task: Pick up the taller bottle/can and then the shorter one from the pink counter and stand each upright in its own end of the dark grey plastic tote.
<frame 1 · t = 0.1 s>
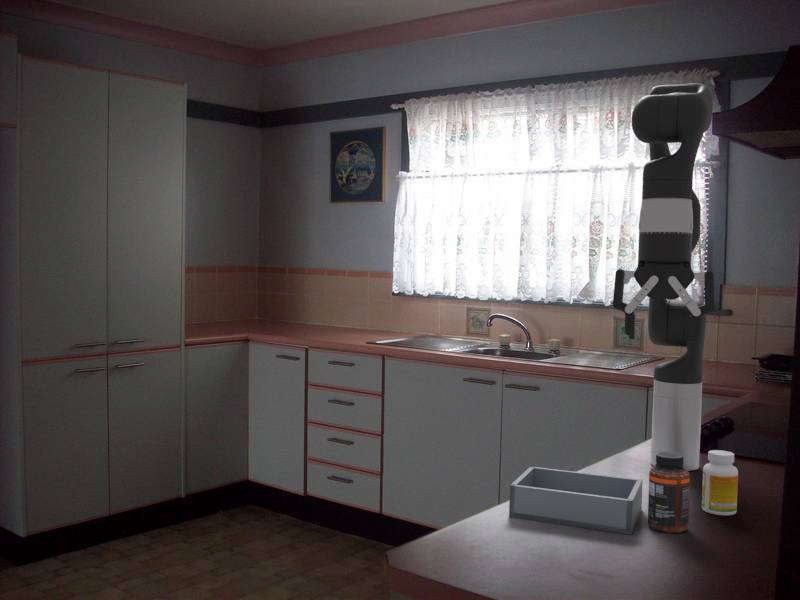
hand: (661, 340, 122), 29 cm above the worktop, fingers open, 8 cm apart
supplement bottle 2: (667, 529, 125), on the worktop
tote: (576, 513, 131), on the worktop
supplement bottle: (718, 512, 134), on the worktop
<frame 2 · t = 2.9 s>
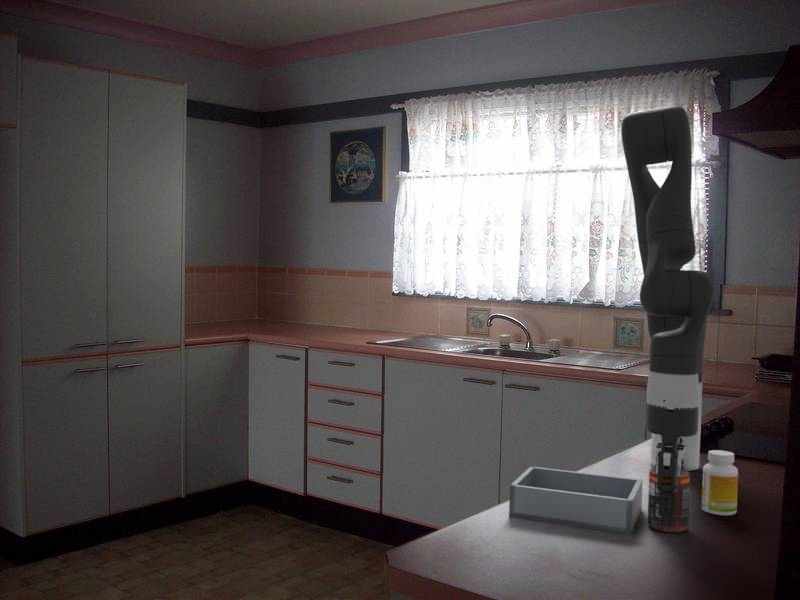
hand: (668, 510, 125), 3 cm above the worktop, fingers closed on supplement bottle 2, 6 cm apart
supplement bottle 2: (667, 529, 125), on the worktop, touching gripper
everything else where it was.
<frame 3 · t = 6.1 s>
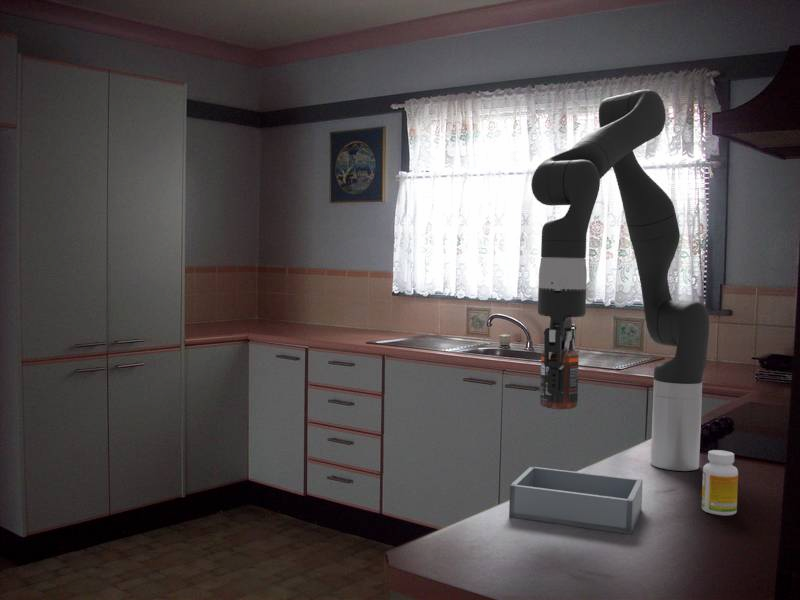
hand: (558, 390, 132), 20 cm above the worktop, fingers closed on supplement bottle 2, 6 cm apart
supplement bottle 2: (558, 408, 132), point 17 cm above the worktop, touching gripper
everything else where it was.
when the fingers open (5 cm above the worktop, at t = 9.5 s): supplement bottle 2 drops 1 cm, resting on tote.
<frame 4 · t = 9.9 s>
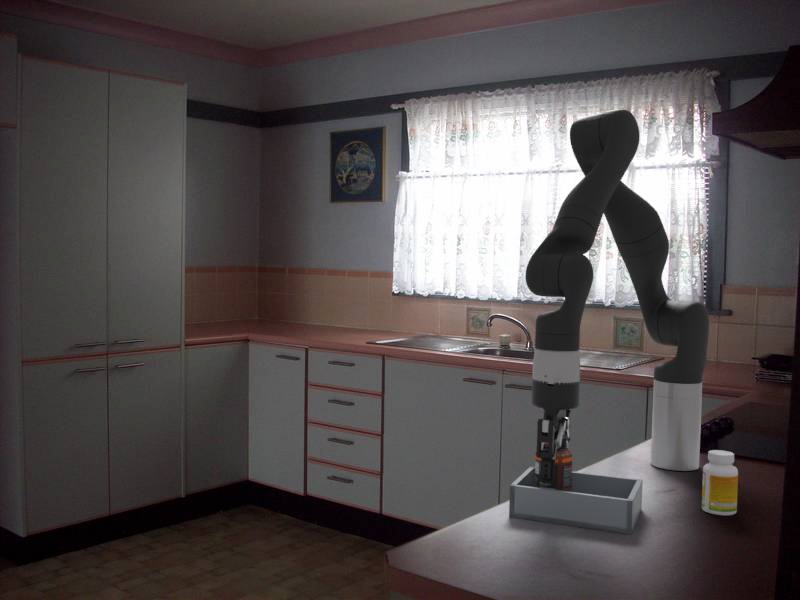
hand: (552, 476, 133), 5 cm above the worktop, fingers open, 8 cm apart
supplement bottle 2: (552, 505, 133), point 1 cm above the worktop, touching tote
everything else where it was.
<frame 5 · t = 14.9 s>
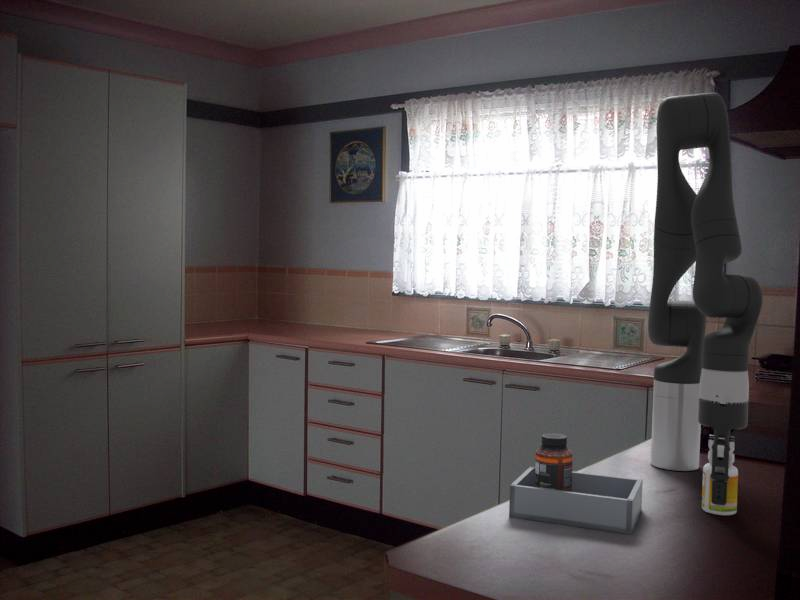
hand: (719, 498, 134), 2 cm above the worktop, fingers closed on supplement bottle, 5 cm apart
supplement bottle: (718, 512, 134), on the worktop, touching gripper
everything else where it was.
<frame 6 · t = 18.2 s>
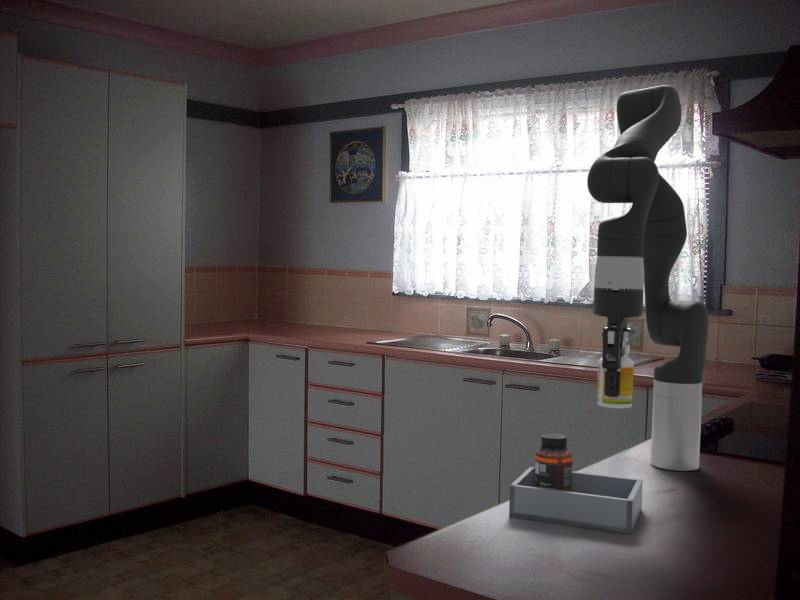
hand: (614, 393, 129), 20 cm above the worktop, fingers closed on supplement bottle, 5 cm apart
supplement bottle: (614, 407, 129), point 18 cm above the worktop, touching gripper
everything else where it was.
when the fingers open (4 cm above the worktop, at t = 21.7 s): supplement bottle drops 1 cm, resting on tote.
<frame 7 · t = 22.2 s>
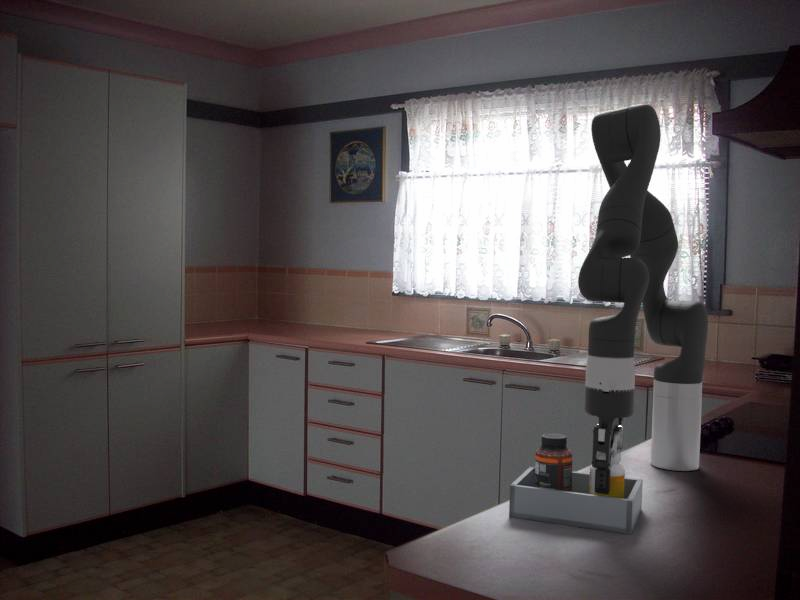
hand: (606, 486, 130), 5 cm above the worktop, fingers open, 8 cm apart
supplement bottle: (605, 513, 130), point 1 cm above the worktop, touching tote
everything else where it was.
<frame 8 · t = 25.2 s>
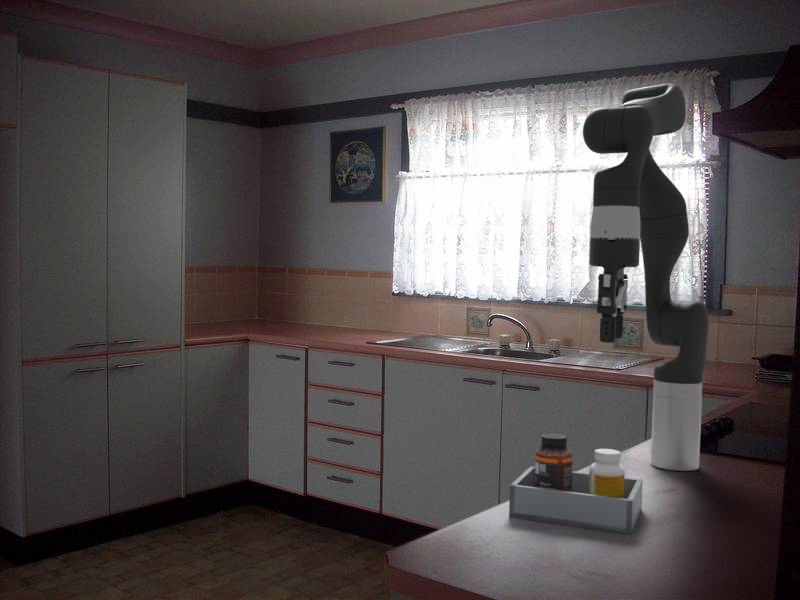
hand: (611, 340, 128), 28 cm above the worktop, fingers open, 8 cm apart
nothing on the worktop moved.
at the end: supplement bottle 2 inside the target area on the tote (4.0 cm from its centre), point 0.6 cm above the tote's base; supplement bottle inside the target area on the tote (4.6 cm from its centre), point 0.6 cm above the tote's base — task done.
